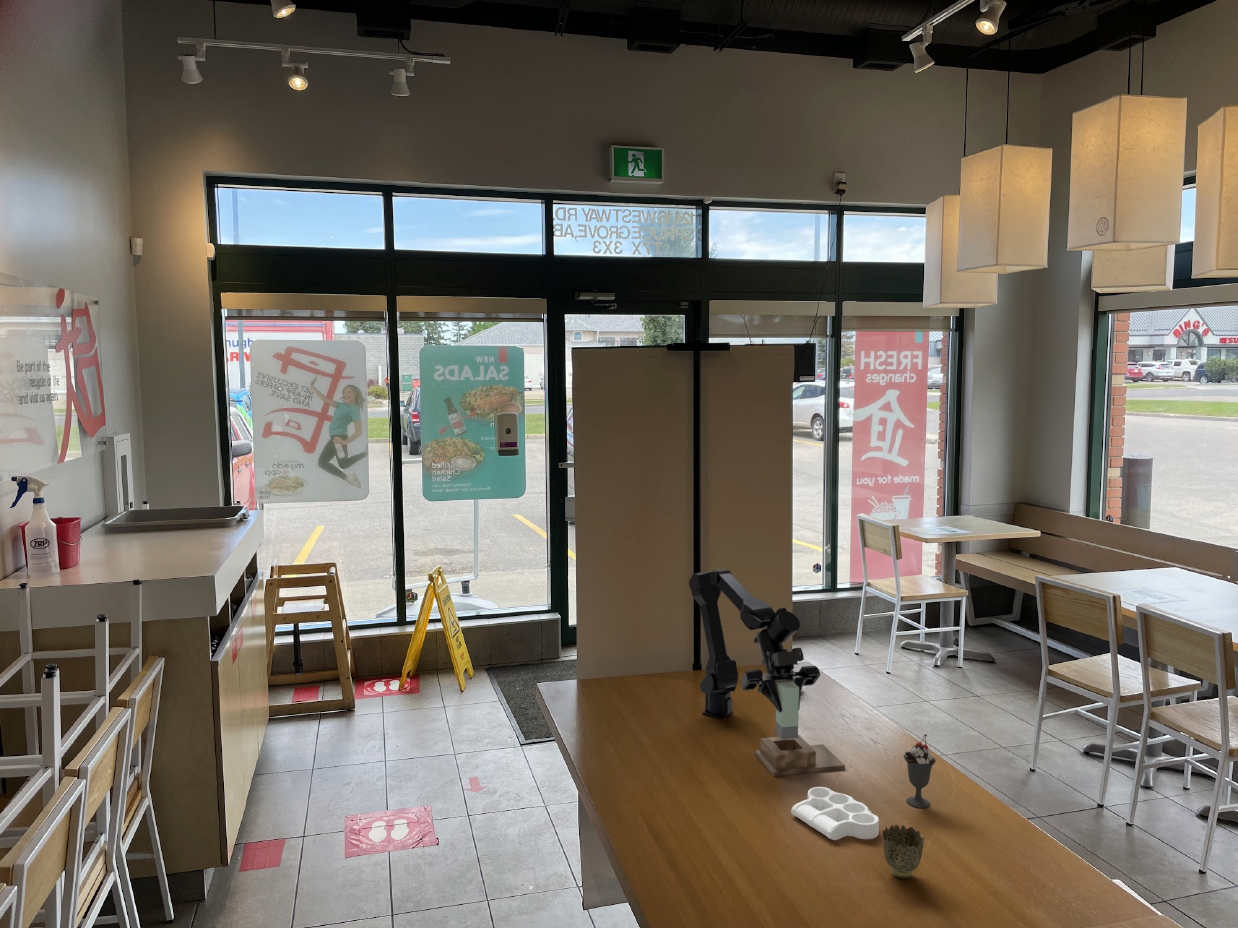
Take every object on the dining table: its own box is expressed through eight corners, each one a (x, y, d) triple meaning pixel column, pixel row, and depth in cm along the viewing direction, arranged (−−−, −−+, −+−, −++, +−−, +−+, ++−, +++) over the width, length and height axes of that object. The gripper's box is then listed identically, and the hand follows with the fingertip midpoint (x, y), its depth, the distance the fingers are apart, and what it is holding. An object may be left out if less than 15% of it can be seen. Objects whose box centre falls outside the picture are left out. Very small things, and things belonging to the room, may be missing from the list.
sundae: (933, 797, 191) (936, 732, 189) (934, 812, 185) (936, 744, 183) (902, 793, 193) (904, 728, 192) (901, 807, 187) (904, 740, 185)
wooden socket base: (773, 776, 201) (773, 757, 201) (755, 754, 213) (755, 736, 212) (844, 768, 205) (845, 750, 205) (822, 747, 217) (823, 730, 216)
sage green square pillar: (782, 739, 205) (783, 688, 204) (775, 732, 209) (776, 682, 208) (797, 737, 206) (799, 687, 205) (791, 731, 210) (792, 681, 209)
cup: (874, 864, 165) (876, 824, 164) (912, 862, 165) (913, 822, 164) (890, 887, 157) (891, 845, 156) (929, 885, 158) (931, 843, 157)
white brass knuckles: (780, 811, 185) (831, 795, 193) (841, 851, 170) (894, 832, 177) (781, 796, 185) (832, 781, 192) (841, 834, 170) (894, 816, 177)
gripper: (745, 638, 207) (761, 699, 198) (818, 633, 211) (837, 693, 201) (734, 659, 216) (749, 719, 206) (804, 654, 219) (821, 713, 210)
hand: (789, 710), depth 206 cm, fingers closed on sage green square pillar, 4 cm apart
